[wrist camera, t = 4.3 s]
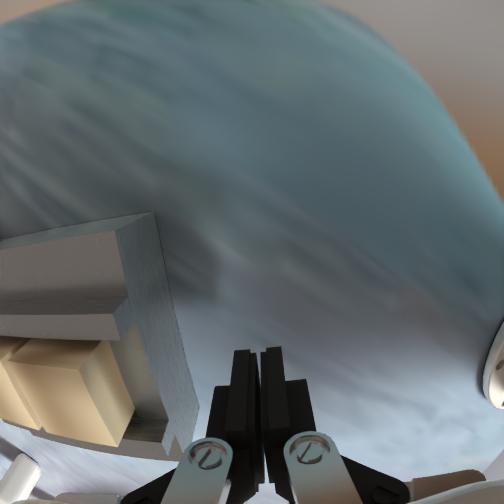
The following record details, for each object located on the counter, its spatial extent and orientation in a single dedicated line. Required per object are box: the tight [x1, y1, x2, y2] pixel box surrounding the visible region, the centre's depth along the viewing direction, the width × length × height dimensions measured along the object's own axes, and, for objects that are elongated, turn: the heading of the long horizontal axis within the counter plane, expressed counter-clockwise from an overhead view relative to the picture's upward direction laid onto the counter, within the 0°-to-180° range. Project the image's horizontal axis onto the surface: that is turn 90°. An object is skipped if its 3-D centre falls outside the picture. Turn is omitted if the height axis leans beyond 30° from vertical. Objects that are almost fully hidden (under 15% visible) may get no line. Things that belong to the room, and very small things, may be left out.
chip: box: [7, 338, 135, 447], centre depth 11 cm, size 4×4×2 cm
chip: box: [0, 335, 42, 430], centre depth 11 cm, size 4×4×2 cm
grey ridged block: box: [0, 211, 200, 462], centre depth 13 cm, size 11×12×6 cm
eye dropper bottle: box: [0, 453, 41, 504], centre depth 16 cm, size 4×6×12 cm
